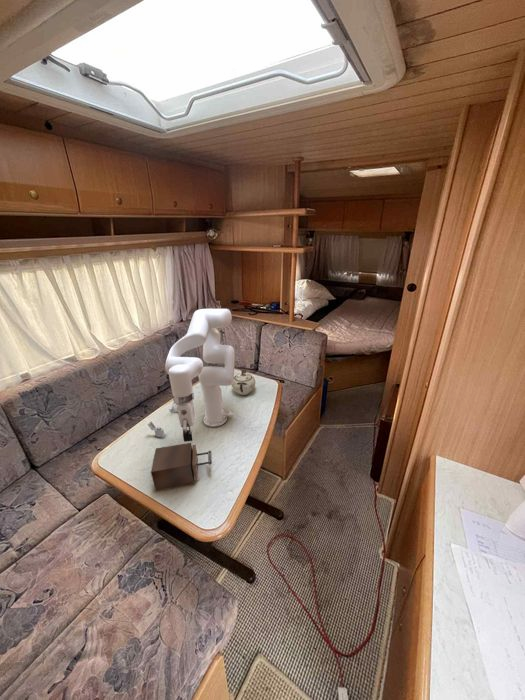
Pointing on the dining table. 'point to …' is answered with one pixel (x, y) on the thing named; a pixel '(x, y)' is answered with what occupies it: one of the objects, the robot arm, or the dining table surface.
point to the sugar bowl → (243, 383)
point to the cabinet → (172, 466)
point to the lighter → (157, 430)
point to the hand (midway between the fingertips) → (189, 432)
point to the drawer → (195, 461)
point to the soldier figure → (174, 408)
